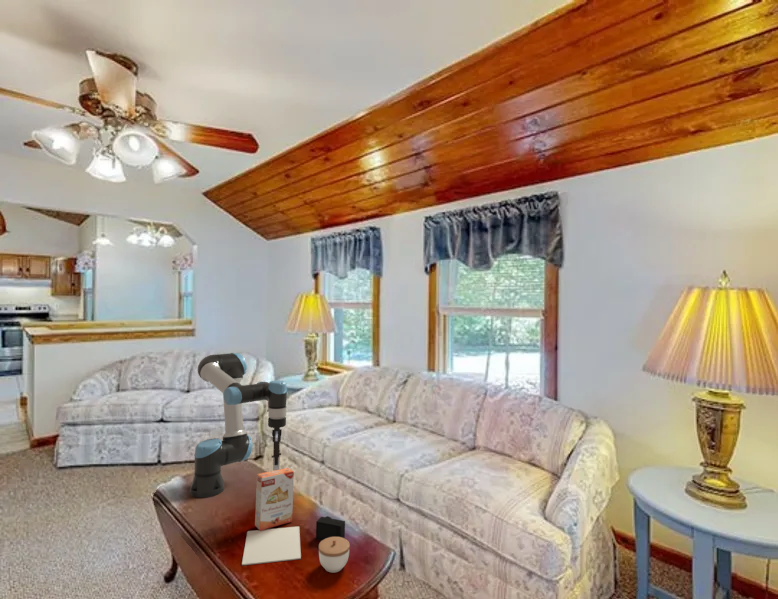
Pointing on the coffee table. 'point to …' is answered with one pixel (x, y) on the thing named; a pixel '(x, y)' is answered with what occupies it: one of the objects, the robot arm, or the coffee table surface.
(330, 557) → the lidded jar
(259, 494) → the cracker box
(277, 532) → the mat
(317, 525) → the digital camera
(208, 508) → the coffee table surface
